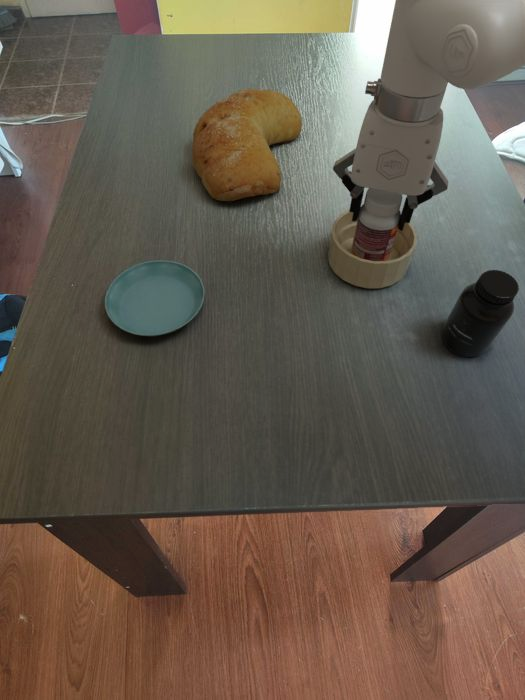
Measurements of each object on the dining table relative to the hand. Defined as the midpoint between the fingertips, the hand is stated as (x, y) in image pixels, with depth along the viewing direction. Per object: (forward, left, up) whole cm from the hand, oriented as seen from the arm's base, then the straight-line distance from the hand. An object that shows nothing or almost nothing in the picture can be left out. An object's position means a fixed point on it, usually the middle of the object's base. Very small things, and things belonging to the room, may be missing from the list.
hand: (378, 219), depth 69 cm
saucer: (+29, +19, -9) cm, 36 cm away
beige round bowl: (0, 0, -9) cm, 9 cm away
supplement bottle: (-16, +12, -9) cm, 22 cm away
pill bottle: (0, 0, -7) cm, 7 cm away
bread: (+29, -22, -9) cm, 38 cm away
